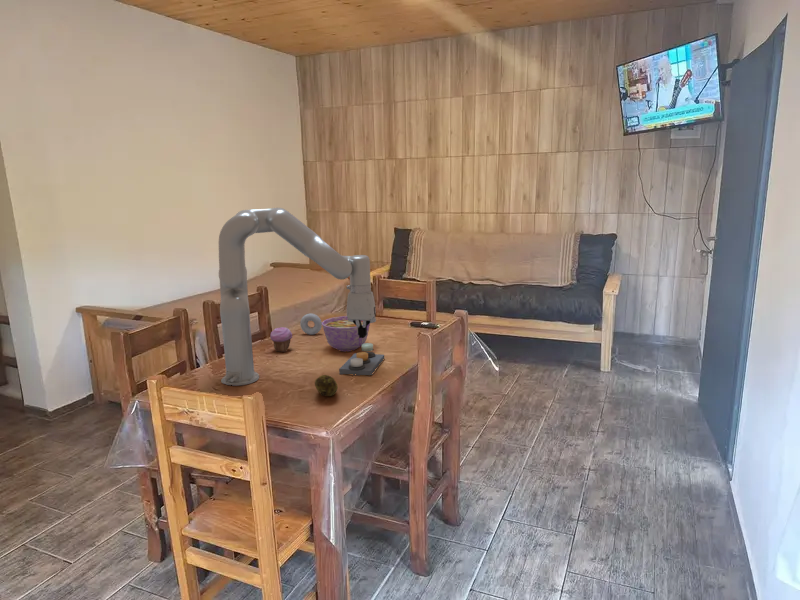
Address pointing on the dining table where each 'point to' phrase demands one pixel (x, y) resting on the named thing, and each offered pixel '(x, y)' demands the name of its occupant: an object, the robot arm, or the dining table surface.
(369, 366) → the button panel
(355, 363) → the button white
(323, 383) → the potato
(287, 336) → the cupcake
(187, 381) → the dining table surface
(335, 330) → the bowl of food
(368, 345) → the button sage
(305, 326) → the donut
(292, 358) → the dining table surface
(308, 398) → the dining table surface
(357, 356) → the button orange
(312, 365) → the dining table surface
